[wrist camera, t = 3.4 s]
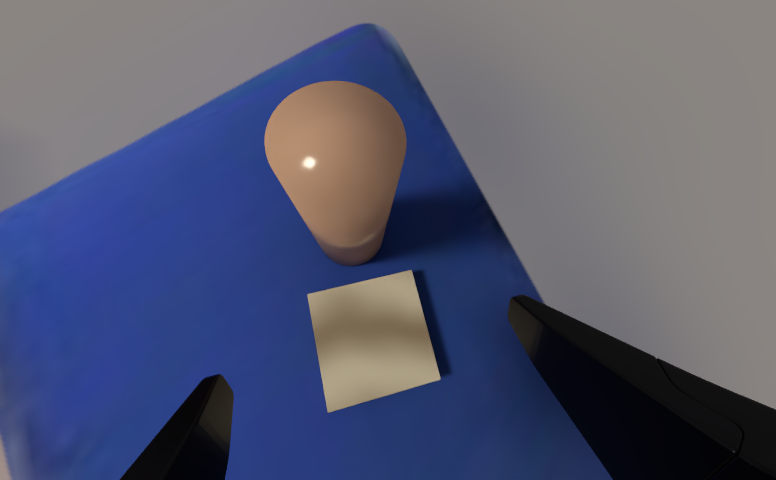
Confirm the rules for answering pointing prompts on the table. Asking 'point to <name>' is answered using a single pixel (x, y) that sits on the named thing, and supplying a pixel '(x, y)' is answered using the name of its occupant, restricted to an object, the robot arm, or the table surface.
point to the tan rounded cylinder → (339, 164)
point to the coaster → (371, 340)
